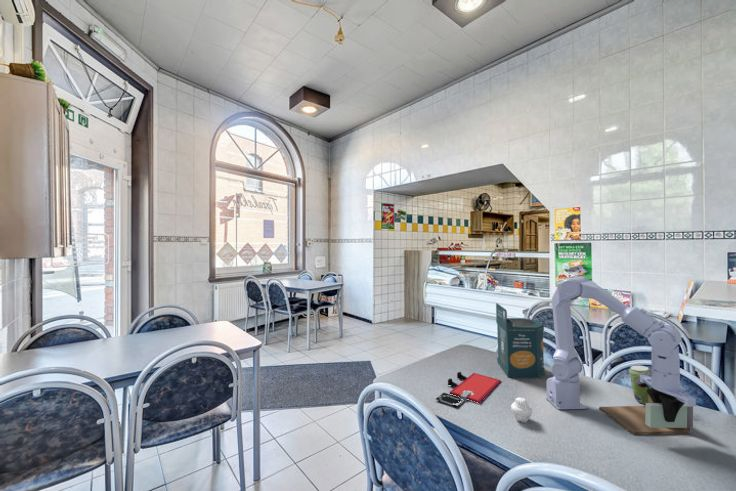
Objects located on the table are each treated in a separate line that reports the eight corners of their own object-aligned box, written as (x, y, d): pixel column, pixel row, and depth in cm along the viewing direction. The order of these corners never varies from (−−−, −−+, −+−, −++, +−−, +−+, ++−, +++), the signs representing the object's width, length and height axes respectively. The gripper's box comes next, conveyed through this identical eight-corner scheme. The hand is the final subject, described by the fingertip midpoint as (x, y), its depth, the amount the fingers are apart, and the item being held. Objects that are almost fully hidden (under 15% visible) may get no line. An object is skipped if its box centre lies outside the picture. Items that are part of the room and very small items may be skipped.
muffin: (524, 427, 96) (523, 404, 96) (506, 417, 101) (506, 396, 101) (537, 421, 99) (536, 399, 99) (519, 412, 104) (519, 391, 104)
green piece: (651, 428, 87) (651, 406, 87) (644, 423, 89) (644, 402, 89) (695, 428, 87) (695, 406, 87) (687, 424, 89) (688, 402, 89)
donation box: (497, 362, 147) (495, 302, 147) (534, 363, 145) (532, 302, 145) (507, 377, 131) (506, 310, 131) (549, 378, 129) (547, 310, 129)
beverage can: (662, 407, 105) (661, 371, 105) (636, 405, 106) (636, 370, 106) (649, 398, 111) (648, 364, 111) (625, 396, 113) (625, 363, 112)
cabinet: (634, 434, 91) (633, 410, 91) (599, 409, 105) (598, 388, 105) (690, 433, 91) (689, 409, 91) (647, 408, 105) (647, 387, 105)
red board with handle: (430, 400, 114) (470, 414, 105) (430, 392, 114) (470, 406, 105) (465, 373, 137) (500, 383, 127) (465, 367, 137) (500, 376, 127)
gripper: (707, 381, 80) (708, 434, 81) (656, 360, 95) (656, 405, 95) (679, 382, 80) (680, 435, 81) (632, 360, 95) (633, 405, 95)
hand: (666, 419), depth 88 cm, fingers closed on green piece, 2 cm apart
